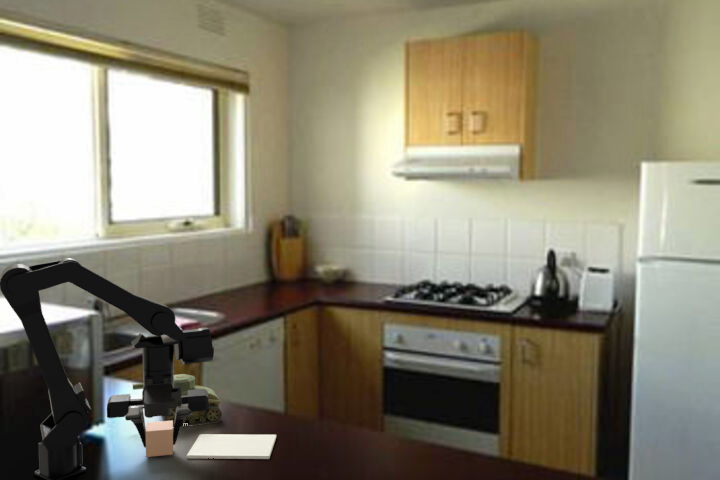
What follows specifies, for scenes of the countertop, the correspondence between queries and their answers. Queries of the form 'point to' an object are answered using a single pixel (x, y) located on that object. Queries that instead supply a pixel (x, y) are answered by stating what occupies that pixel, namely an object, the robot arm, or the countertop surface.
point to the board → (232, 446)
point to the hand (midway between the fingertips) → (159, 445)
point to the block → (159, 438)
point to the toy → (212, 413)
